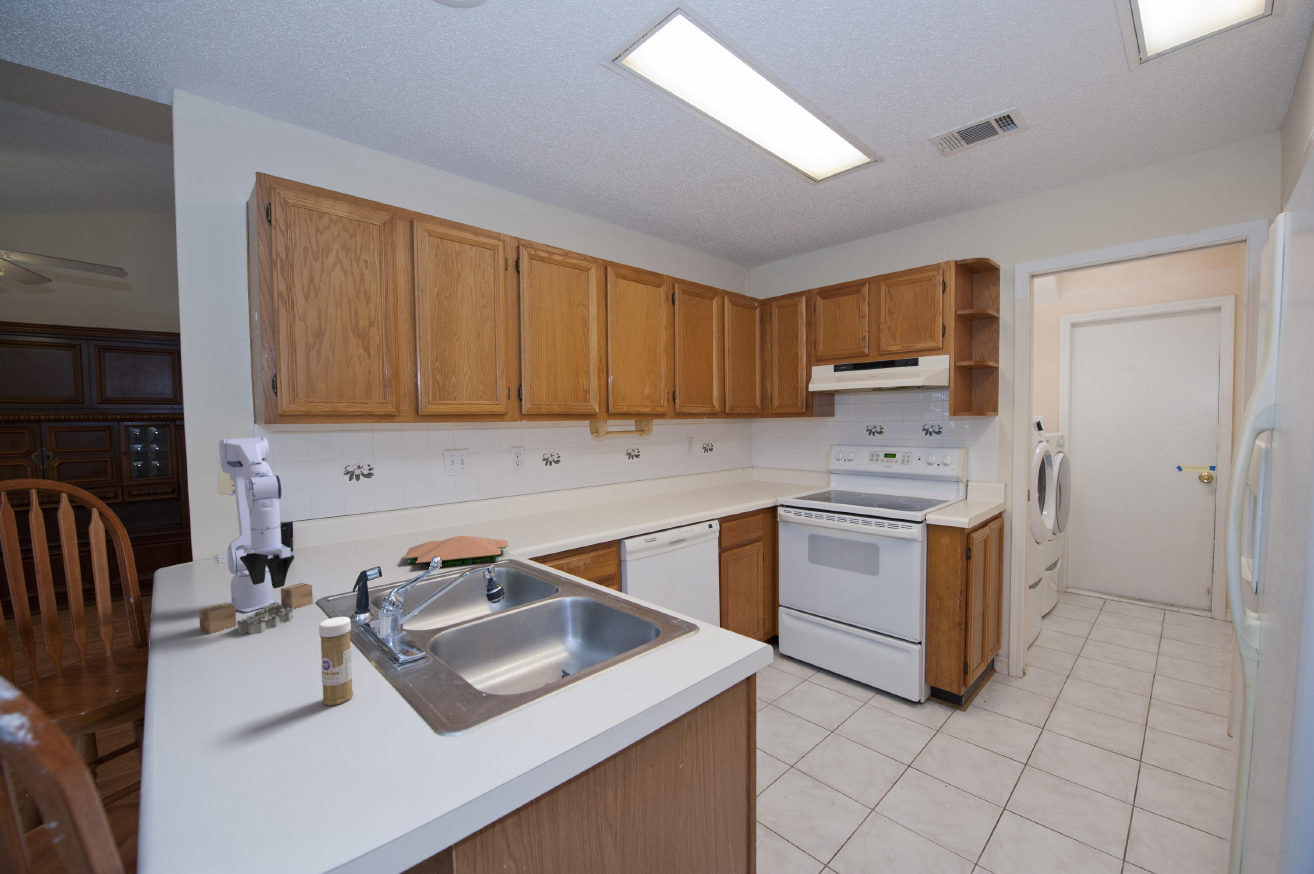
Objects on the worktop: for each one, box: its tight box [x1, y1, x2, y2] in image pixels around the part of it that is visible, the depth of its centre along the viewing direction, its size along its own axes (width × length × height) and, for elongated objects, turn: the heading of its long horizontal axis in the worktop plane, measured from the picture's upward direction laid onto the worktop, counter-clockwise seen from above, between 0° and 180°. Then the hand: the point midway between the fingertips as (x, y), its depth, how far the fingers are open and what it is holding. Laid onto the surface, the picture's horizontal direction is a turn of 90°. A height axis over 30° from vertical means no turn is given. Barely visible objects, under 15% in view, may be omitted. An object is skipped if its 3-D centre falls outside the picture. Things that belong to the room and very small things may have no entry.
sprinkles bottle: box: [318, 616, 354, 706], centre depth 90 cm, size 5×5×13 cm
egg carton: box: [233, 602, 297, 635], centre depth 126 cm, size 11×8×4 cm
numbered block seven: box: [198, 602, 237, 635], centre depth 125 cm, size 5×5×5 cm
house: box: [403, 535, 509, 568], centre depth 183 cm, size 23×33×8 cm
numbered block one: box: [280, 582, 314, 611], centre depth 139 cm, size 5×5×5 cm
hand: (268, 585), depth 126 cm, fingers open, 7 cm apart
